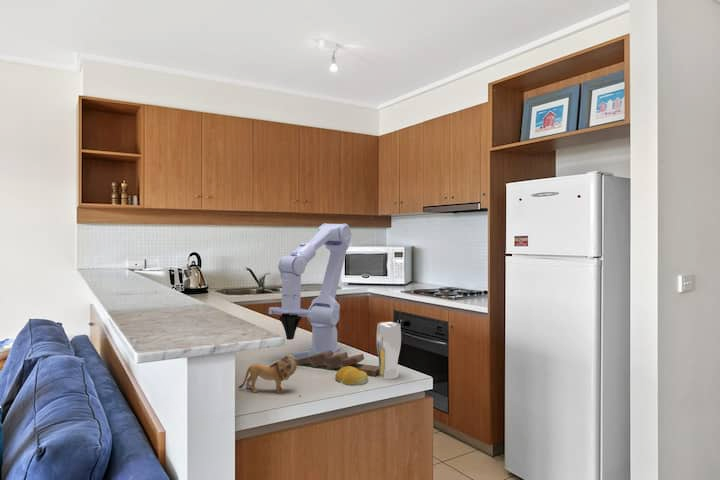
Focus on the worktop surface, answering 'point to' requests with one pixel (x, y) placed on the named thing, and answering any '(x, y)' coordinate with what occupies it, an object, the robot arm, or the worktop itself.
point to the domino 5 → (366, 368)
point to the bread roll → (351, 376)
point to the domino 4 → (346, 361)
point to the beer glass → (388, 349)
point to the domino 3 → (330, 359)
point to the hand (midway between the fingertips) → (290, 339)
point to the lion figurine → (271, 372)
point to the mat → (318, 367)
